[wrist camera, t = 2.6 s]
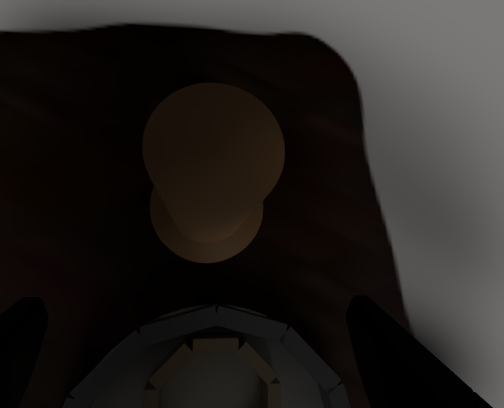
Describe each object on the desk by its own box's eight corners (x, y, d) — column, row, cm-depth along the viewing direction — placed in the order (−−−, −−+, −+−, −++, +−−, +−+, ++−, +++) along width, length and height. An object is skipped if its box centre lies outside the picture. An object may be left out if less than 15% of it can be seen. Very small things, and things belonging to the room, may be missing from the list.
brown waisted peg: (203, 284, 20) (211, 303, 8) (139, 216, 20) (53, 135, 8) (268, 220, 22) (356, 156, 10) (208, 157, 22) (220, 18, 10)
